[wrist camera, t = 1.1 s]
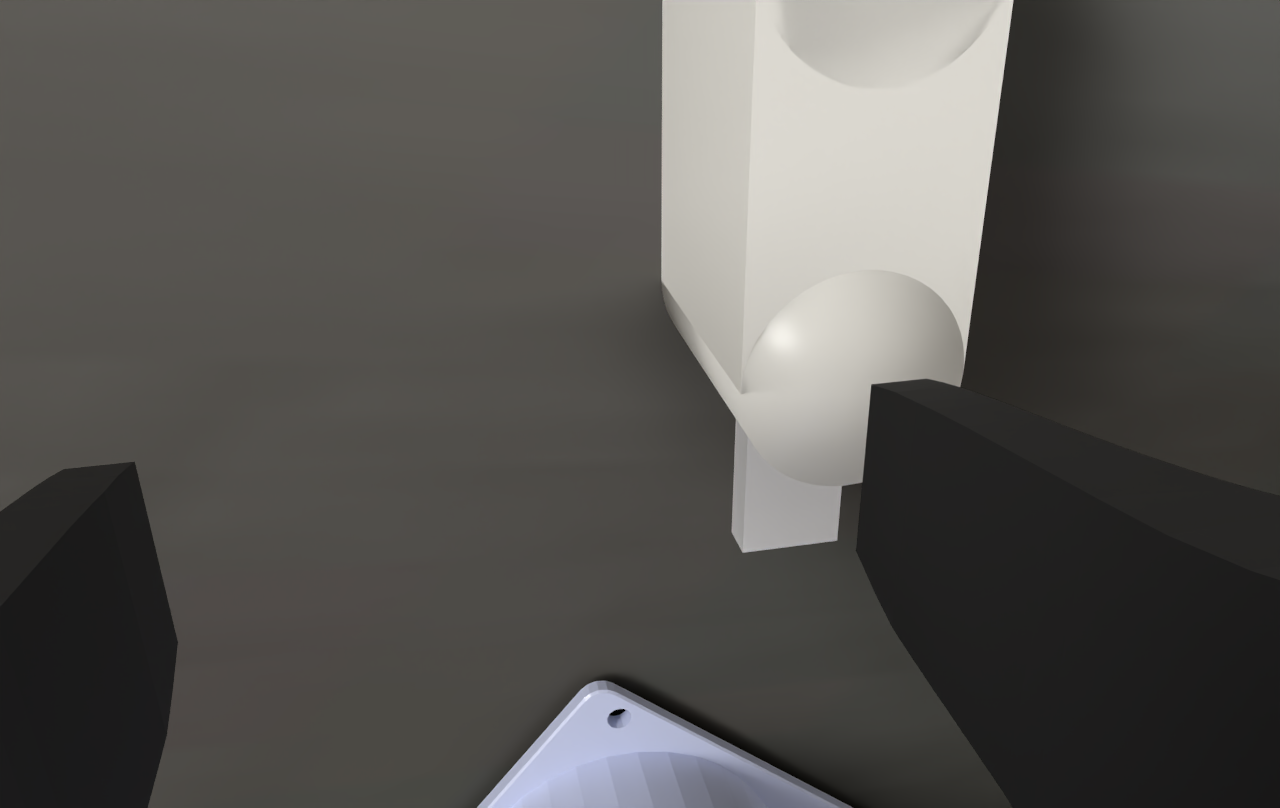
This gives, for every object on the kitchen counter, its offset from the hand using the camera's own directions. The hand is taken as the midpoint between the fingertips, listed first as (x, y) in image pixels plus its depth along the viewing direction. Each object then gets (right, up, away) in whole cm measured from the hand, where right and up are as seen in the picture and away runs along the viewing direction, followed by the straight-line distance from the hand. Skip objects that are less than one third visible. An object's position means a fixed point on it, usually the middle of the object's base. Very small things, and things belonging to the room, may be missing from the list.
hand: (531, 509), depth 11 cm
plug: (+3, +6, +8) cm, 11 cm away
